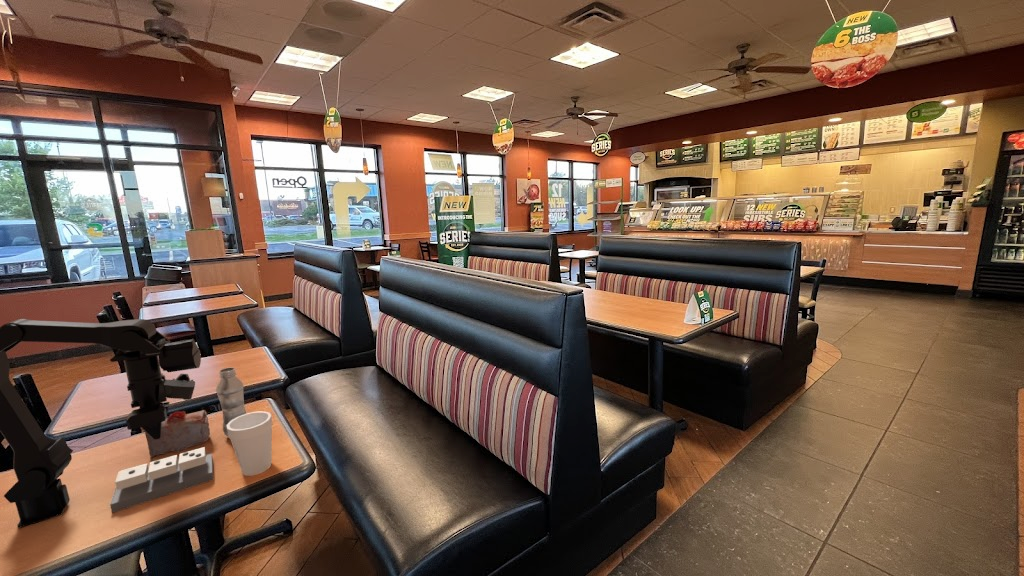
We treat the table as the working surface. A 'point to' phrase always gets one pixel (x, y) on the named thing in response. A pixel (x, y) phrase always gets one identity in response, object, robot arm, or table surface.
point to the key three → (192, 458)
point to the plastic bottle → (230, 396)
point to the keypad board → (162, 485)
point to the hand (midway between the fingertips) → (157, 438)
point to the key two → (163, 467)
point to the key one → (132, 476)
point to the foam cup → (252, 441)
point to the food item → (180, 432)
